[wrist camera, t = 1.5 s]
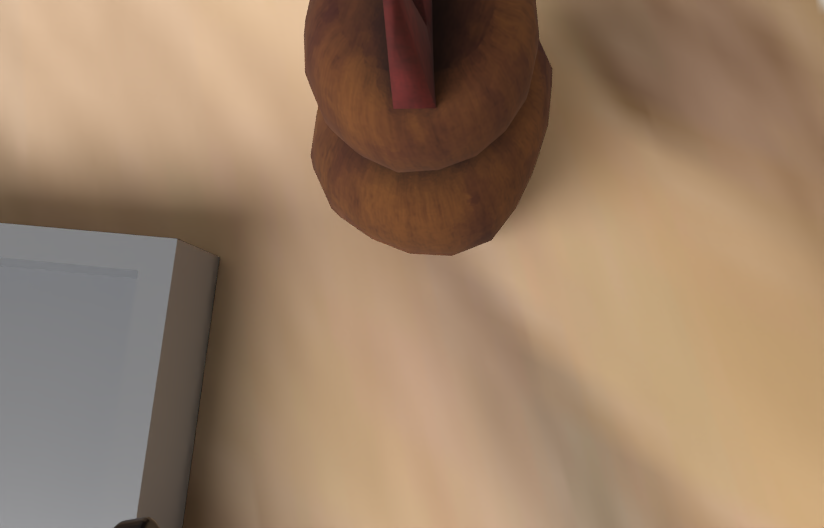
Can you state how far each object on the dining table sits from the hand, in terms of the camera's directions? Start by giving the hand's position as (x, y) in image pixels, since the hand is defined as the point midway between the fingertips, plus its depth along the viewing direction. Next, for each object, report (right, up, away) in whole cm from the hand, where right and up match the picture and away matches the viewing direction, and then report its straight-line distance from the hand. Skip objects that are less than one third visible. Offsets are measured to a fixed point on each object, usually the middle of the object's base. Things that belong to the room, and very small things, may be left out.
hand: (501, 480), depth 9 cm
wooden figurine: (0, +6, +15) cm, 16 cm away
